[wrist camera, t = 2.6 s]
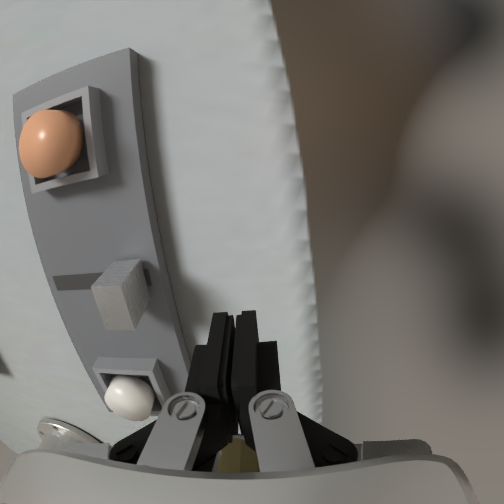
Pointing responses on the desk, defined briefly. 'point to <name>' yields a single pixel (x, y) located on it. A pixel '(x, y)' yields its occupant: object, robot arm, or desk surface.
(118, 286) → the lever
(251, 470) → the canister
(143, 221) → the panel
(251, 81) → the desk surface
